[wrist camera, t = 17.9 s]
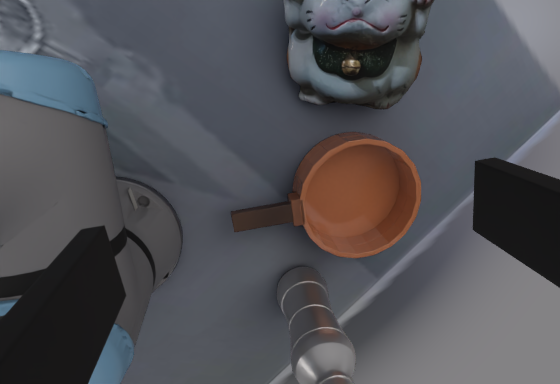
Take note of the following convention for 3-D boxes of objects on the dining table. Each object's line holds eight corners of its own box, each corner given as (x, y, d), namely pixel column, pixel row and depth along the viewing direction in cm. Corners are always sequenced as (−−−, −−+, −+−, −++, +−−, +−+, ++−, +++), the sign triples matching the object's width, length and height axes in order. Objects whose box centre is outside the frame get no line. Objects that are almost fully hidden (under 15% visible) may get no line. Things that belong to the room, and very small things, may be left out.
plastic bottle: (331, 284, 53) (389, 404, 34) (291, 311, 53) (327, 445, 35) (305, 251, 51) (352, 360, 32) (264, 280, 51) (286, 404, 33)
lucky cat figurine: (271, 97, 44) (256, 27, 30) (295, 3, 46) (291, -105, 32) (402, 124, 42) (449, 63, 29) (422, 26, 44) (476, -76, 30)
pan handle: (234, 228, 46) (235, 237, 43) (230, 203, 45) (230, 211, 42) (301, 216, 47) (306, 224, 44) (298, 191, 46) (303, 198, 43)
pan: (299, 249, 51) (307, 267, 46) (285, 142, 46) (292, 150, 41) (404, 229, 52) (422, 246, 47) (400, 123, 47) (420, 129, 42)
